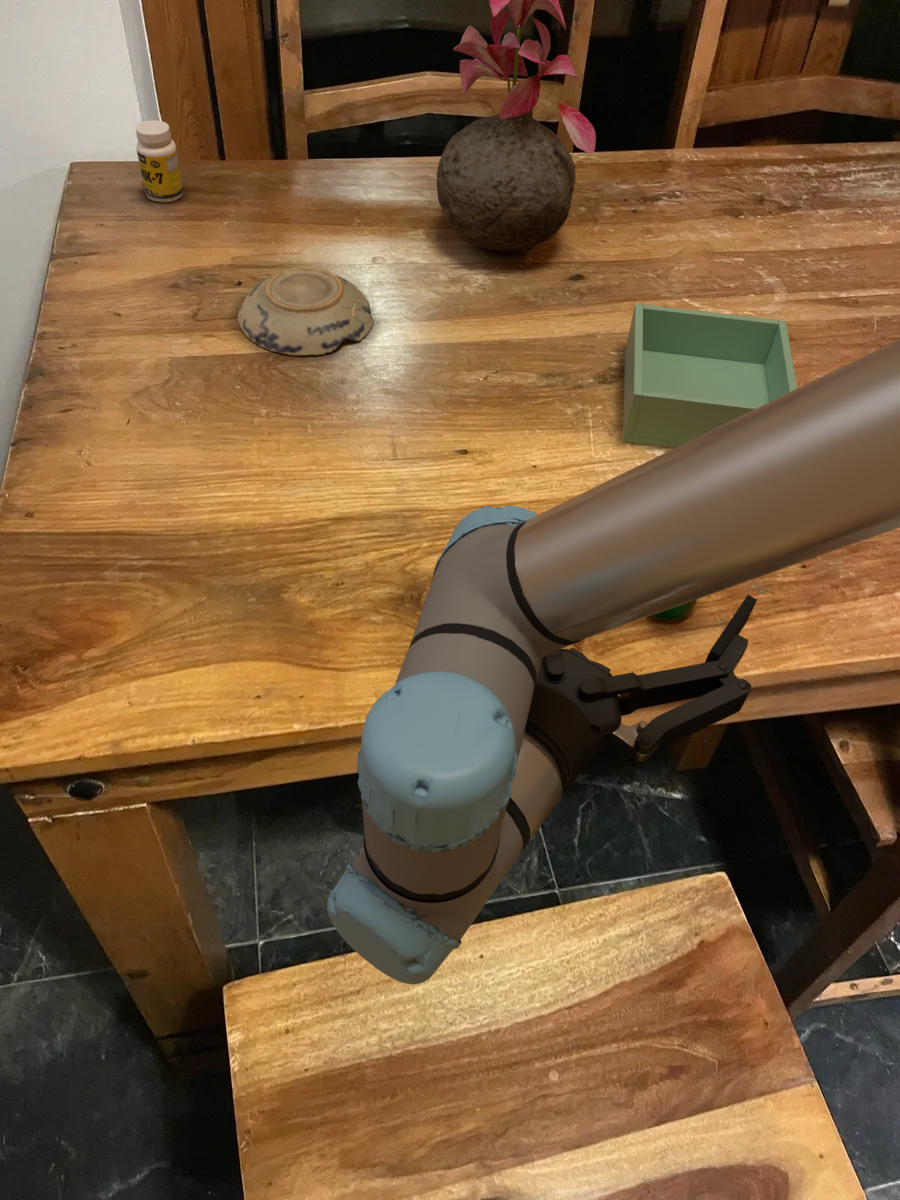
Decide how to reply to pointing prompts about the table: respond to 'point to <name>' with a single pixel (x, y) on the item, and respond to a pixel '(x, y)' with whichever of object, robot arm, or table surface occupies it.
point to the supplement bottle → (158, 161)
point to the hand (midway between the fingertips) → (666, 567)
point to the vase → (511, 143)
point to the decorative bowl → (304, 312)
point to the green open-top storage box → (699, 371)
